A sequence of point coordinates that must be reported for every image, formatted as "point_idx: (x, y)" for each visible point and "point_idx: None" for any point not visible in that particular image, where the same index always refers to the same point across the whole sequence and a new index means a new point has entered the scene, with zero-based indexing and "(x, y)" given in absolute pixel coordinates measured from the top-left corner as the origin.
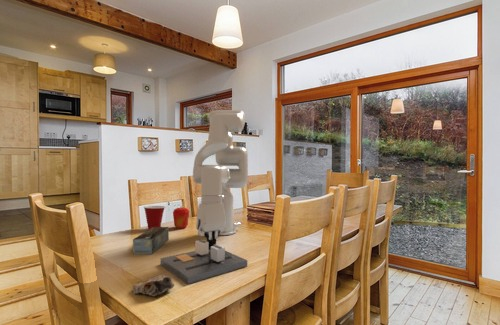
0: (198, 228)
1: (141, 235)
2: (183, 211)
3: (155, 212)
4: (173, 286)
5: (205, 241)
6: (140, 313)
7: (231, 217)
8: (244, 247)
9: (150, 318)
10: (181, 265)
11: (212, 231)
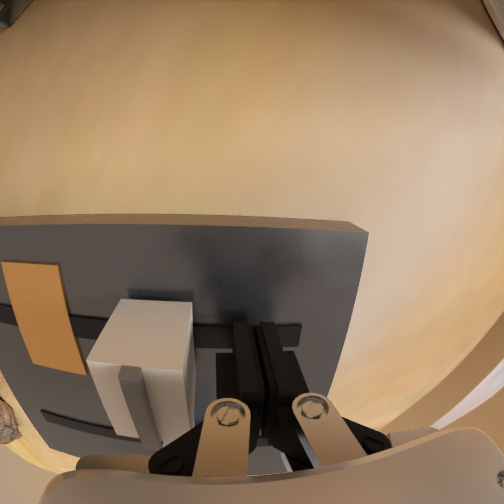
0: (83, 488)
1: None
2: None
3: None
4: (20, 434)
5: (159, 449)
6: None
7: None
8: (474, 278)
9: (6, 445)
10: (26, 382)
11: (318, 463)
